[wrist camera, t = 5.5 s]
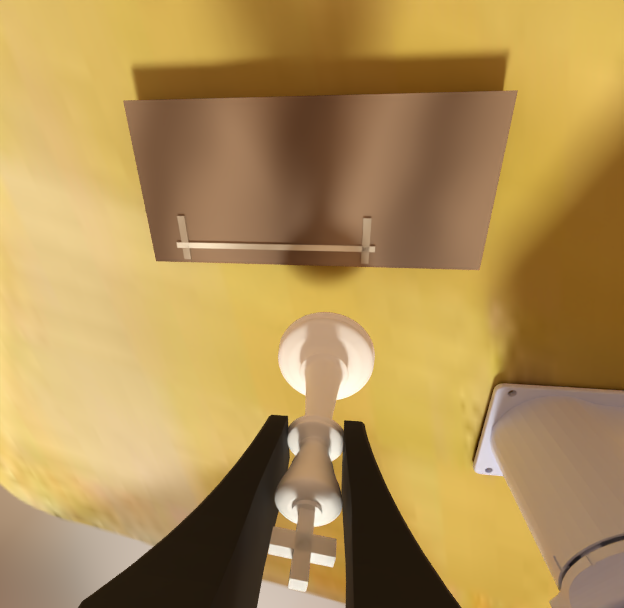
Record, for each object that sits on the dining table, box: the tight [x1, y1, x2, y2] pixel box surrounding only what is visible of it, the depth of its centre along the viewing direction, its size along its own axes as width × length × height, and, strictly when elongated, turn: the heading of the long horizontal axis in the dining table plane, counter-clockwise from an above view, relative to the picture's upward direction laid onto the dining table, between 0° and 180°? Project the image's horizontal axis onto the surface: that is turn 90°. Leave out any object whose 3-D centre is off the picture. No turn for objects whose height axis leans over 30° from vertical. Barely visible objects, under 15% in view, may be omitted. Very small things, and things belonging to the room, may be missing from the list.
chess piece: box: [268, 312, 375, 592], centre depth 12 cm, size 5×5×10 cm
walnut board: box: [124, 91, 517, 270], centre depth 17 cm, size 18×8×2 cm, turn 90°
